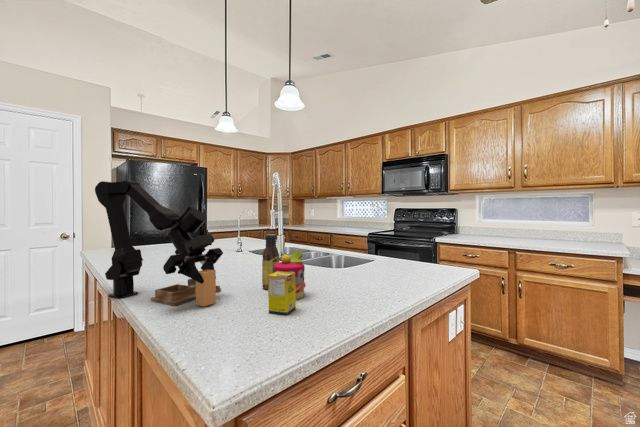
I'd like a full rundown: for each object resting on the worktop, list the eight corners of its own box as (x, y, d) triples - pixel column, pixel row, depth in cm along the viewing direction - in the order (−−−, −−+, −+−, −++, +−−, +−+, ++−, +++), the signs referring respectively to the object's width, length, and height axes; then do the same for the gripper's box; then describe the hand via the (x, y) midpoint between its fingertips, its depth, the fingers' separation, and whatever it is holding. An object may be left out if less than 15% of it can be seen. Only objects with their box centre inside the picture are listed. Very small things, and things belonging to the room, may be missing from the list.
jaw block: (196, 304, 92) (195, 271, 91) (207, 300, 96) (207, 269, 95) (204, 306, 90) (204, 273, 90) (215, 302, 94) (215, 270, 94)
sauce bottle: (275, 290, 108) (275, 235, 108) (259, 289, 110) (259, 235, 109) (281, 286, 115) (281, 233, 114) (266, 285, 116) (265, 233, 116)
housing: (151, 301, 97) (151, 288, 97) (198, 287, 113) (198, 276, 113) (175, 306, 92) (175, 293, 92) (220, 291, 108) (220, 280, 108)
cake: (292, 303, 94) (292, 255, 94) (266, 298, 100) (266, 252, 100) (311, 295, 103) (310, 251, 103) (286, 290, 109) (286, 249, 108)
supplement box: (296, 308, 89) (295, 272, 89) (287, 315, 83) (287, 276, 83) (277, 306, 91) (277, 270, 91) (268, 313, 85) (267, 274, 85)
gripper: (169, 227, 86) (197, 269, 81) (218, 224, 102) (244, 259, 98) (151, 253, 90) (177, 295, 85) (202, 245, 106) (226, 280, 101)
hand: (209, 280), depth 92 cm, fingers closed on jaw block, 4 cm apart
